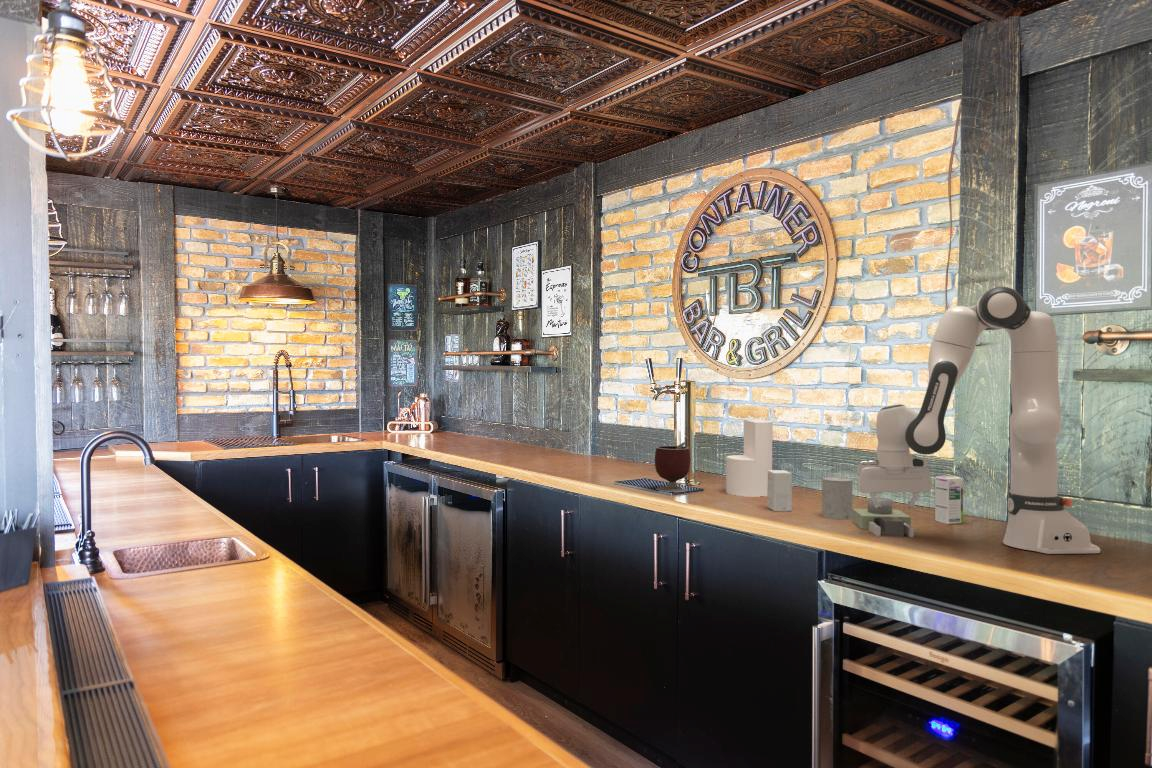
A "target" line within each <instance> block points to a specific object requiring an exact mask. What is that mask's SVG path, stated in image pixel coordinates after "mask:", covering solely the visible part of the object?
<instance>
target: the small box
mask: <svg viewBox="0 0 1152 768" xmlns="http://www.w3.org/2000/svg"><path fill="white" fill-rule="evenodd" d="M766 497H767V498H766V499H767V502H766V504H767V505H766V507H767V508H768V509H770V510H772V511H774V512H792V511H793V473H792V472H790V471H787V470H785V469H781V470H780V469H776V470H775V469H772V470H768V488H767V496H766Z"/></svg>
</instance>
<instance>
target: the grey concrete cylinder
mask: <svg viewBox="0 0 1152 768" xmlns="http://www.w3.org/2000/svg"><path fill="white" fill-rule="evenodd" d="M821 480H822V485H821V486H822V487H821V488H822V492H821V498H822V500H821V516H822V517H823V518H826V519H835V520H849V519H852V509H853V485H854V484H853V483H854V482H853V481H854V479H853V478H852V477H846V476H845V477H843V476H824V477H822V478H821Z"/></svg>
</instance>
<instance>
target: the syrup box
mask: <svg viewBox="0 0 1152 768" xmlns="http://www.w3.org/2000/svg"><path fill="white" fill-rule="evenodd" d="M934 480H935V483H934V485H935V488H934V495H935V496H934V498H935V499H934V501H935V502H934V503H935V506H934V510H935V511H934V514H935V516H934V518H935V519H934V520H935V522H938V523H941V524H946V525H954V524H957V525H958V524H963V523H964V478H963V477H961V476H957V475H939V476H938V475H937V476H936V475H935V478H934Z"/></svg>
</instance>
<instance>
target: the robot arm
mask: <svg viewBox="0 0 1152 768" xmlns="http://www.w3.org/2000/svg"><path fill="white" fill-rule="evenodd" d="M995 330H996V331H997V330H1004V331H1006V332H1007V334H1008V337H1009V339H1010V341H1009V342H1010V386H1011V387H1010V389H1011V404H1012V405H1011V406H1012V408H1011V410H1012V413H1011V415H1010V417H1009V418H1010V419H1009V450H1010V451H1009V454H1010V458H1009V459H1010V477H1009V478H1010V483H1009V484H1010V485H1009V486H1010V488H1009V489H1010V490H1009V492H1008V495H1007V512H1008V519H1007V525H1006V530H1005V533H1004V536H1003V540H1002V544H1004V545H1006V546H1009V547H1011V548H1016V549H1020V550H1026V551H1031V552H1032V551H1033V552H1038V553H1043V554H1047V555H1048V554H1049V555H1052V554H1053V555H1058V554H1059V555H1061V554H1062V555H1065V554H1067V555H1068V554H1070V555H1071V554H1100V553H1101V551H1102V550H1101V548H1100V547H1099V546H1098V545H1096V544H1095V543H1094V544H1093V543H1092V542H1091V536H1090V532H1089V529H1088V527H1087V526H1086V525H1085V524H1084V523H1082V522H1081V521H1079V520H1078V519H1077V518H1076V517H1074V516H1073V515H1071V514H1070V513H1069V512H1068V511H1066V510H1065V507H1067V508H1070V507H1072V506H1073V505H1074V503H1073V500H1072V499H1069V498H1066V497H1064V498H1063V497H1061V496H1060V495H1058V487H1059V486H1058V482H1059V481H1058V479H1059V477H1058V475H1059V473H1058V472H1059V471H1058V470H1059V465H1058V453H1057V451H1058V450H1057V438H1058V436H1059V434H1060V433H1061V431H1062V413H1061V397H1060V387H1059V347H1058V346H1059V345H1058V343H1059V342H1058V336H1057V334H1058V333H1057V330H1056V325H1055V321H1054V319H1053V317H1052V316H1051V315H1050V314H1048V313H1046V312H1043V311H1037V310H1035V311H1033V310H1031V307H1029V306H1028V304H1027V302H1026V301H1025V300H1024V297H1022V295H1021V294H1020V293H1019V292H1018V291H1016V289H1013V288H1011V287H1007V286H996V287H993V288H990V289H989V290H987V291H986V292H984V293H983V294H982V295H981V296H980V298H979V299H978V300H977V301H976V302H975V303H974V304H973V305H972V306H965V305H956V306H951V307H949V308H947V309H946V310H945V311H944V313H943V315H942V317H941V319H940V321H939V322H938V325H937V327H936V329H935V332H934V335H933V338H932V341H931V344H930V348H929V353H928V360H927V361H928V363H927V364H928V367H927V368H928V381H927V382H928V383H927V384H928V385H927V387H926V391H925V394H924V398H923V401H922V404H921V407H920V410H919V412H918V411H916V410H914V409H911V408H909V407H908V406H907V405H905V404H894V405H887V406H885V407H884V406H883V407H882V408H881V409H880V410H878V412H877V415H876V423H875V424H876V431H875V433H876V438H877V447H876V460H862V461H861V462H858V463H857V464H856V474H857V484H856V488H857V490H858V491H859V492H860V493H862V494H865V493H866V494H867V493H868V494H869V495H870V498H872V499H873V501H874V506H875V508H881V502H880V501H877V499H876V498H875V497H877V496H878V493H881V494H882V493H883V494H884V493H885V494H887V493H911V495H912V498H911V500H907V504H908V505H907V506H908V507H907V508H909V509H911V508H912V509H915V508H916V502H917V500H918V498H919V496H920V493H930V492H931V491H932V488H933V482H932V476H931V472H930V470H929V469H928V468H927V466H928V460H927V459H925V458H922V457H918V456H917V455H914V454H912V455H911V454H910V450H912V452H915V453H917V454H920V455H925V456H926V455H933V454H935V453H937V452H939V451H940V450H941V449H942V448H943V447H944V445H945V444H946V438H947V437H946V435H947V434H946V430H945V429H946V428H945V422H944V421H945V418H946V413H947V410H948V407H949V403H950V401H951V397H952V394H953V391H954V388H955V387H956V385H957V383H958V382H959V381H960V379H961V378H962V376H963V375H964V373H965V372H966V370H967V367H968V366H969V364H970V363H971V360H972V359H973V358H972V357H973V354H974V352H975V349H976V345H977V341H978V340H979V337H980V335H981V334H982V332H984V331H995Z"/></svg>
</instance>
